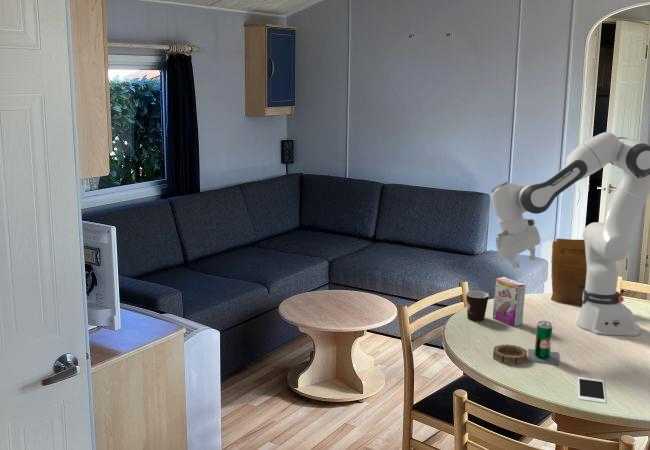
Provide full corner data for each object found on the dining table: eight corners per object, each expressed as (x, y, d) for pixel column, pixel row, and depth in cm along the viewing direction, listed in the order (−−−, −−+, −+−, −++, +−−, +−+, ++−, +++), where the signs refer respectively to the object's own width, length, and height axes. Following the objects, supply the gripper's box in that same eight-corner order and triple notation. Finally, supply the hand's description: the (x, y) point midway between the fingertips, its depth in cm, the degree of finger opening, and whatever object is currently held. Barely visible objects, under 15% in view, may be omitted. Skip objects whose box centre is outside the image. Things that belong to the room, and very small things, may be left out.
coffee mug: (487, 323, 276) (489, 298, 274) (464, 321, 278) (465, 296, 276) (486, 313, 287) (488, 289, 285) (464, 311, 289) (466, 287, 287)
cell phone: (578, 400, 217) (578, 398, 217) (577, 378, 232) (577, 376, 231) (605, 404, 214) (606, 402, 214) (603, 382, 229) (603, 380, 229)
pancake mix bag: (595, 309, 294) (602, 242, 287) (546, 302, 301) (552, 237, 294) (595, 304, 300) (602, 238, 293) (548, 297, 307) (554, 233, 300)
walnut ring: (526, 353, 249) (527, 346, 248) (526, 366, 239) (527, 359, 238) (494, 349, 252) (494, 343, 251) (492, 362, 242) (492, 355, 241)
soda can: (539, 360, 243) (542, 326, 240) (531, 354, 248) (534, 321, 245) (552, 358, 244) (555, 325, 242) (544, 352, 249) (547, 319, 246)
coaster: (558, 353, 250) (558, 352, 249) (559, 365, 240) (559, 364, 240) (528, 349, 252) (528, 348, 252) (528, 361, 243) (528, 360, 243)
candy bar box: (491, 318, 282) (494, 278, 278) (500, 316, 284) (503, 276, 281) (513, 327, 273) (517, 286, 269) (522, 324, 275) (526, 284, 272)
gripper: (501, 234, 251) (513, 272, 251) (537, 218, 262) (548, 254, 263) (488, 236, 256) (499, 273, 256) (523, 221, 268) (535, 256, 268)
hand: (524, 263), depth 260 cm, fingers open, 8 cm apart
